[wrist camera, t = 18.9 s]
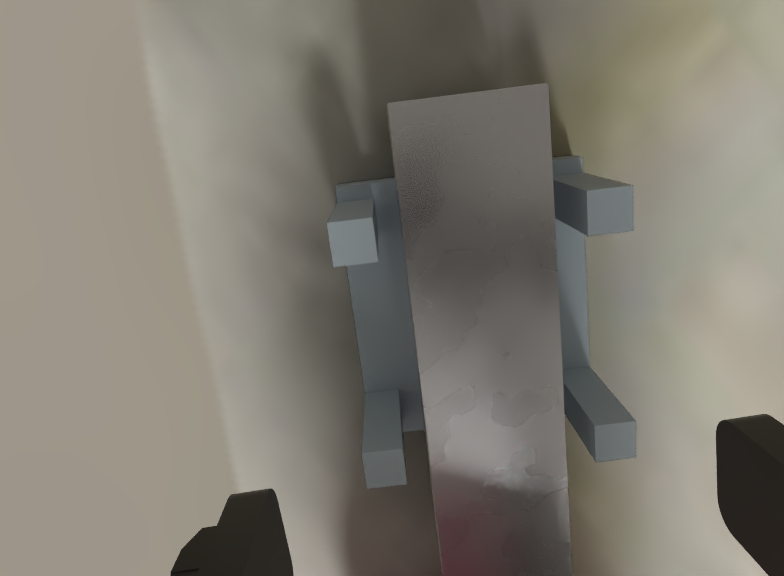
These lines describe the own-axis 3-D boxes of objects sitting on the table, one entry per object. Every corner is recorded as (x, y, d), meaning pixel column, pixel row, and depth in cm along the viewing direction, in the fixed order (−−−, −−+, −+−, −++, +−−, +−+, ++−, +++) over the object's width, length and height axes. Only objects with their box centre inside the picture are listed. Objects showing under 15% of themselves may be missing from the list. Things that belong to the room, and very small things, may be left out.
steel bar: (541, 527, 23) (574, 609, 19) (437, 539, 23) (449, 623, 19) (513, 90, 19) (548, 82, 15) (386, 106, 19) (387, 102, 15)
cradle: (582, 397, 23) (636, 472, 18) (371, 422, 23) (369, 503, 18) (572, 155, 20) (632, 165, 15) (337, 184, 20) (323, 204, 16)
